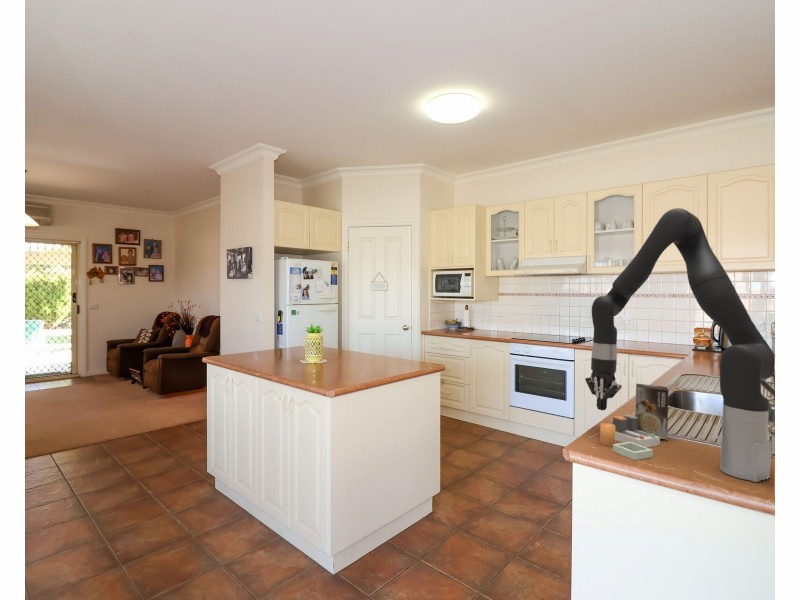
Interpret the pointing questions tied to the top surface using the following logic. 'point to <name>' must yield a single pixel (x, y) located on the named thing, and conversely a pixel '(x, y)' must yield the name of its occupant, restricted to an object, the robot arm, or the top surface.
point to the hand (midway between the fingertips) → (601, 409)
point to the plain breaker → (631, 422)
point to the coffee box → (652, 409)
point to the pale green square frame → (639, 450)
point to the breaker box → (637, 437)
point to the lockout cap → (607, 434)
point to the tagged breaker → (620, 423)
